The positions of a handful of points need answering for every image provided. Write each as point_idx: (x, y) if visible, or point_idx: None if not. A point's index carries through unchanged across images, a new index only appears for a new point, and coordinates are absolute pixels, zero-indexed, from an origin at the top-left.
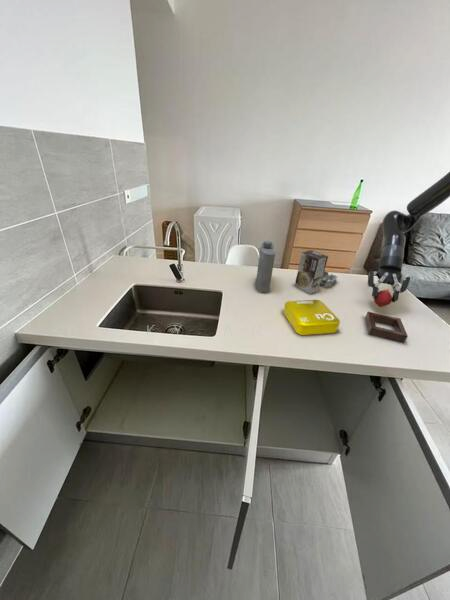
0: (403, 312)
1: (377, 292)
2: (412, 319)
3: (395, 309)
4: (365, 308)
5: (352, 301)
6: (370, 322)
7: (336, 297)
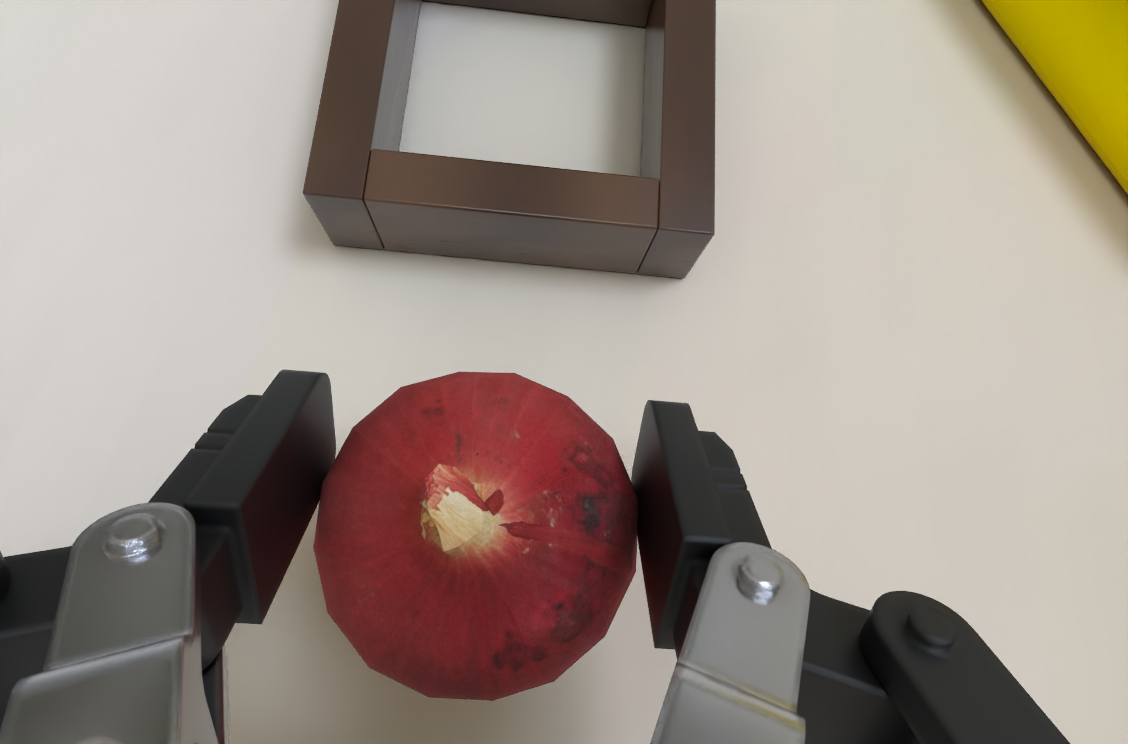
0: None
1: (673, 452)
2: (40, 464)
3: None
4: None
5: None
6: (714, 2)
7: None
